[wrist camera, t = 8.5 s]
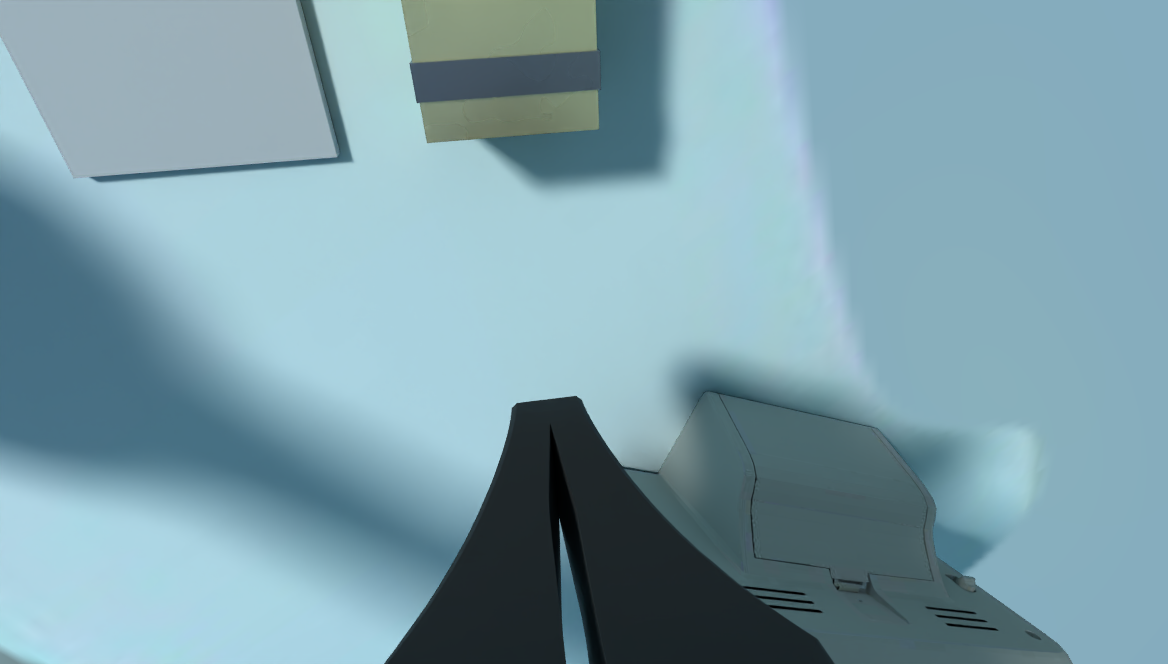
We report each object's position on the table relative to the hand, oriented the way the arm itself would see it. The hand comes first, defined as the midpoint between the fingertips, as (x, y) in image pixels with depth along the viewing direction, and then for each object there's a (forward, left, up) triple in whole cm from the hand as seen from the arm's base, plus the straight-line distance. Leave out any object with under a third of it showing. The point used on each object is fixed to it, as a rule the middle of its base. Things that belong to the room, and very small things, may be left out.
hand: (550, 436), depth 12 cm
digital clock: (-12, -9, -9) cm, 18 cm away
